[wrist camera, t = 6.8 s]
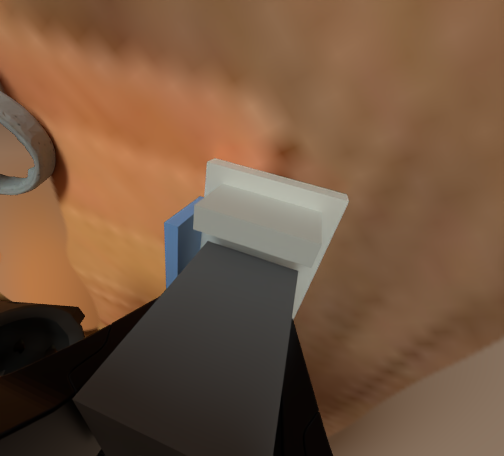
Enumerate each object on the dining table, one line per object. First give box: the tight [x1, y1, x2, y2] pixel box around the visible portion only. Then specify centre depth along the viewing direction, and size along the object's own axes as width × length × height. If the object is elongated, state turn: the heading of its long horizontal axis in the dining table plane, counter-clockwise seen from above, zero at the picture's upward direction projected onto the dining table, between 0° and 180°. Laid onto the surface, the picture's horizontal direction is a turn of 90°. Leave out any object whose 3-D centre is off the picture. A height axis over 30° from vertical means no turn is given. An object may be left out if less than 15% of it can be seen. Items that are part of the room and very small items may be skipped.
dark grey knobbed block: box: [72, 241, 298, 456], centre depth 7 cm, size 4×4×7 cm
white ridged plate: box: [164, 158, 349, 319], centre depth 13 cm, size 18×7×3 cm, turn 168°
